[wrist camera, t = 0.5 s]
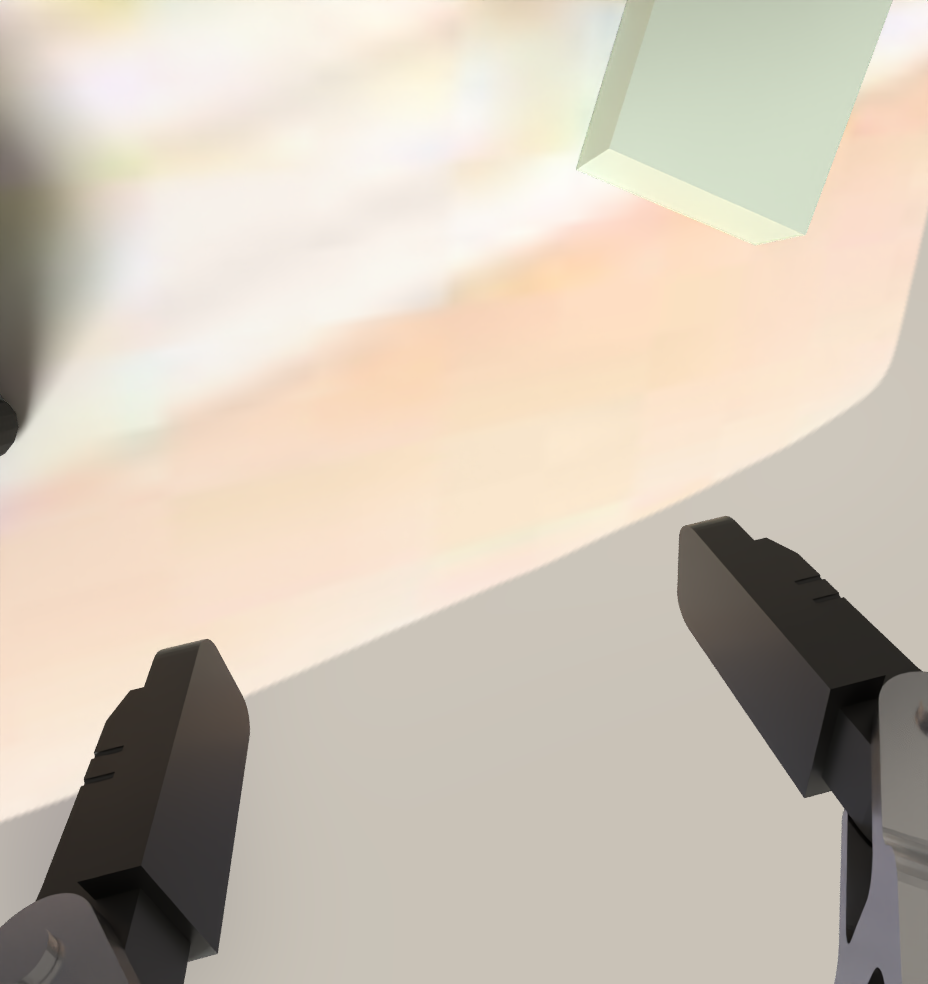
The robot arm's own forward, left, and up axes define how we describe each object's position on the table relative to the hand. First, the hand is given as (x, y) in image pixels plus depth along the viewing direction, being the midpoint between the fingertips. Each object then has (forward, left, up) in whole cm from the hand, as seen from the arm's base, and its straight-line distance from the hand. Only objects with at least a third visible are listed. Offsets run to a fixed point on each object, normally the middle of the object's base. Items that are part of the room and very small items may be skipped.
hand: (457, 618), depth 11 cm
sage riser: (-7, +27, -25) cm, 37 cm away
